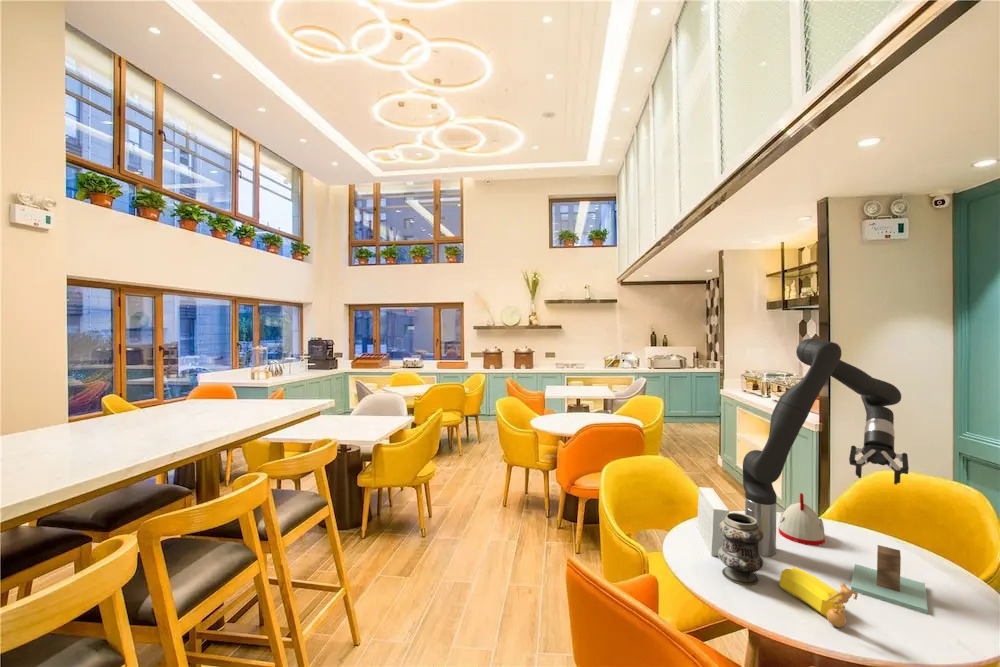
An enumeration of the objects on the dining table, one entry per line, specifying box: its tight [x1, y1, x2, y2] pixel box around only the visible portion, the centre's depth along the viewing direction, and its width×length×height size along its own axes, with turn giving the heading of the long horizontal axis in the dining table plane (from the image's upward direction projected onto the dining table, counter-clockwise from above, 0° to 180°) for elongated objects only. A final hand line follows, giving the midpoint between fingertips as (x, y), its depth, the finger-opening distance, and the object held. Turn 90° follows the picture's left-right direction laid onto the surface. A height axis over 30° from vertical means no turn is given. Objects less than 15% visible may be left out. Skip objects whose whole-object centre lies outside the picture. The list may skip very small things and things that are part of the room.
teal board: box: [850, 563, 929, 615], centre depth 130 cm, size 16×16×1 cm
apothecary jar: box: [717, 512, 764, 586], centre depth 136 cm, size 12×12×18 cm
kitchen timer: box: [778, 492, 826, 546], centre depth 162 cm, size 14×14×15 cm
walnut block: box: [876, 544, 902, 592], centre depth 130 cm, size 5×5×10 cm
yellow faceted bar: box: [778, 566, 845, 618], centre depth 125 cm, size 18×7×8 cm
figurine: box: [826, 582, 859, 628], centre depth 113 cm, size 8×6×12 cm
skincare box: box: [696, 486, 730, 557], centre depth 158 cm, size 21×6×16 cm, turn 168°
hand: (877, 479), depth 138 cm, fingers open, 8 cm apart
